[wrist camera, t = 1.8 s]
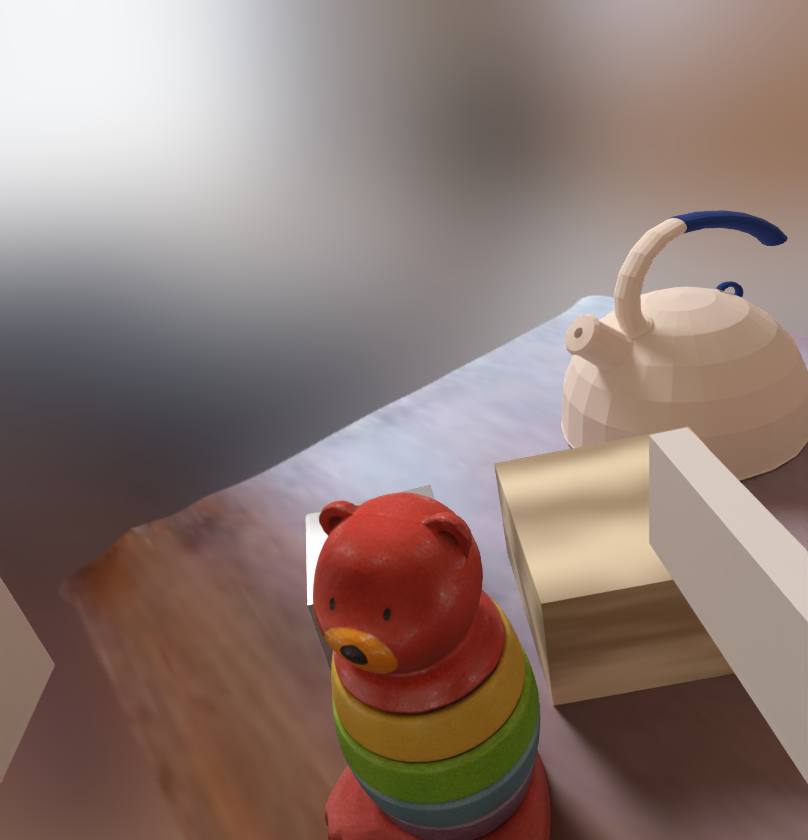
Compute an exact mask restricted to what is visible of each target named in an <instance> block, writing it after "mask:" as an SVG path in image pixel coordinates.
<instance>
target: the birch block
mask: <svg viewBox="0 0 808 840" xmlns="http://www.w3.org/2000/svg"><path fill="white" fill-rule="evenodd" d="M682 428H688V429H689V430H690V431H691V432H692V433H693V434H694V435H695V436H696V437H697V435H696V434H695V433H694V432H693V431H692V430H691V429H690V427H689V426H688V427H682ZM682 428H677V429H682ZM677 429H672V430H677ZM672 430H667V431H672ZM667 431H662V432H667ZM662 432H656V433H651V434H646V435H641V436H636V437H630V438H625V439H620V440H615V441H609V442H604V443H599V444H594V445H589V446H583V447H578V448H573V449H568V450H562V451H557V452H552V453H547V454H542V455H536V456H531V457H526V458H521V459H515V460H510V461H505V462H500V463H495V471H496V478H497V485H498V492H499V499H500V505H501V512H502V519H503V526H504V533H505V540H506V547H507V553H508V556H509V560H510V563H511V566H512V570H513V573H514V576H515V580H516V583H517V586H518V590H519V593H520V596H521V600H522V603H523V606H524V610H525V613H526V616H527V620H528V623H529V626H530V630H531V633H532V636H533V640H534V643H535V646H536V650H537V653H538V656H539V660H540V663H541V666H542V670H543V673H544V676H545V680H546V683H547V686H548V690H549V693H550V696H551V700H552V703H553V706H554V705H560V704H566V703H571V702H577V701H583V700H588V699H594V698H599V697H605V696H611V695H616V694H622V693H628V692H633V691H639V690H644V689H650V688H656V687H661V686H667V685H673V684H678V683H684V682H689V681H695V680H701V679H706V678H712V677H718V676H723V675H729V674H735V673H734V671H733V670H732V668H731V667H730V665H729V664H728V662H727V661H726V659H725V658H724V656H723V655H722V653H721V652H720V650H719V648H718V647H717V645H716V644H715V642H714V641H713V639H712V638H711V636H710V635H709V633H708V632H707V630H706V629H705V627H704V626H703V624H702V623H701V621H700V620H699V618H698V617H697V615H696V614H695V612H694V611H693V609H692V607H691V606H690V604H689V603H688V601H687V600H686V598H685V597H684V595H683V594H682V592H681V591H680V589H679V588H678V586H677V585H676V583H675V582H674V580H673V579H672V577H671V576H670V574H669V573H668V571H667V570H666V568H665V567H664V565H663V563H662V562H661V560H660V559H659V557H658V556H657V554H656V553H655V551H654V550H653V548H652V547H651V545H650V544H649V435H652V434H657V433H662ZM697 438H698V437H697ZM698 439H699V438H698ZM699 440H700V439H699ZM700 441H701V440H700ZM701 442H702V441H701ZM702 443H703V442H702ZM703 444H704V443H703ZM704 445H705V444H704Z"/></svg>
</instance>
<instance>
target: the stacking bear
mask: <svg viewBox="0 0 808 840" xmlns="http://www.w3.org/2000/svg"><path fill="white" fill-rule="evenodd" d="M319 523H320V525H321V527H322V529H323V530H324V532H325V533H326V534H327V535H328V537H327V539H326V541H325V543H324V544H323V546H322V549H321V551H320V554H319V556H318V560H317V564H316V568H315V573H314V580H313V596H312V597H313V608H314V614H315V618H316V622H317V625H318V627H319V629H320V631H321V633H322V635H323V636H324V638H325V640H326V641H327V642H328V644H329V645H330V646H331V648H332V649H333V655H332V663H331V682H332V695H333V698H332V704H333V715H334V721H335V727H336V732H337V736H338V740H339V744H340V747H341V750H342V752H343V755H344V756H345V758H346V761H347V764H348V766H347V767H346V769H345V770H344V771H343V773H342V774H341V776H340V778H339V779H338V781H337V783H336V785H335V787H334V788H333V790H332V792H331V794H330V796H329V798H328V801H327V804H326V807H325V821H326V824H327V826H328V839H329V840H549V839H550V828H551V807H550V796H549V789H548V783H547V779H546V775H545V771H544V768H543V764H542V761H541V758H540V755H539V753H538V750H537V748H538V742H539V732H540V704H539V694H538V689H537V685H536V681H535V677H534V674H533V671H532V668H531V665H530V663H529V660H528V657H527V655H526V653H525V651H524V649H523V647H522V645H521V643H520V642H519V640H518V637H517V635H516V633H515V631H514V629H513V627H512V625H511V623H510V622H509V620H508V618H507V617H506V615H505V614H504V612H503V611H502V610H501V608H500V607H499V606H498V605H497V604H496V603H495V601H494V600H493V599H491V598H490V597H489V596H488V595H487V594H486V593H485V592H484V591H482V580H483V572H482V563H481V557H480V552H479V549H478V547H477V544H476V542H475V540H474V538H473V535H472V534H471V530H470V529H469V527H468V525H467V524H466V522H465V521H464V520H463V519H461V518H460V517H459V516H457V515H456V514H455V513H454V512H453V511H452V510H450V509H449V508H448V507H446V506H445V505H443V504H442V503H440V502H438V501H436V500H434V499H432V498H430V497H427V496H423V495H420V494H415V493H406V492H402V493H393V494H387V495H383V496H380V497H376V498H373V499H371V500H369V501H366V502H364V503H363V504H361V505H358V506H356V505H354V504H352V503H350V502H347V501H335V502H332V503H330V504H328V505H326V506H325V507H324V508H323V509H322V511H321V513H320V515H319Z"/></svg>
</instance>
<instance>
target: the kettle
mask: <svg viewBox="0 0 808 840" xmlns="http://www.w3.org/2000/svg"><path fill="white" fill-rule="evenodd" d="M704 228H728V229H735V230H739V231H742V232H746V233H749V234H750V235H752V236H754V237H756V238H757V239H758V240H759V241H760V242H761V243H762V244H764V245H767V246H776V245H780V244H783V243H784V242H786V241H787V236H786V235H785V234H784V233H783V232H782V231H781V230H780V229H779V228H778V227H776V226H775V225H773V224H771V223H769V222H768V221H766V220H764V219H761V218H758V217H755V216H752V215H749V214H746V213H740V212H732V211H703V212H693V213H688V214H684V215H679V216H674V217H671V218H669V219H668V220H666V221H665V222H663V223H661V224H659V225H658V226H656V227H654V228H653V229H651V230H649V231H647V232H646V233H645V234H644V236H643V237H642V238H641V239H640V240H639V241H638V242H637V243H636V245H635V246H634V247H633V248H632V249H631V250H630V252H629V254H628V256H627V258H626V260H625V262H624V264H623V266H622V267H621V270H620V271H619V275H618V279H617V283H616V287H615V291H614V307H615V310H613V311H612V312H611V313H609V314H608V315H606V316H605V317H603V318H602V319H601V320H598V318H597V317H595V316H594V315H593V314H586V315H583V316H580V317H578V318H577V319H576V320H574V321H573V322H572V324H571V325H570V326H569V328H568V330H567V333H566V337H565V343H566V347H567V350H568V351H569V352H570V353H571V354H572V355H573V356H572V359H571V361H570V364H569V366H568V369H567V371H566V374H565V379H564V386H563V413H562V423H561V428H562V431H563V433H564V436H565V439H566V441H567V443H568V444H569V445H570V446H571V447H572V448H578V447H583V446H589V445H594V444H599V443H604V442H609V441H615V440H620V439H625V438H630V437H636V436H641V435H646V434H651V433H656V432H662V431H667V430H672V429H677V428H682V427H688V426H689V427H690V429H691V430H692V431H693V432H694V433H695V434H696V435H697V437H698V438H699V439H700V440H701V441H702V442H703V443H704V444H705V446H706V447H707V448H708V449H709V450H710V451H711V452H712V453H713V454H714V455H715V456H716V457H717V458H718V459H719V460H720V461H721V463H722V464H723V465H724V466H725V467H726V468H727V469H728V470H729V471H730V472H731V473H732V474H733V475H734V476H735V477H736V478H737V479H738V480H739V481H742V480H745V479H748V478H751V477H754V476H757V475H760V474H763V473H766V472H769V471H772V470H774V469H776V468H777V467H779V466H780V465H782V464H784V463H785V462H787V461H789V460H790V459H792V458H794V457H795V456H797V455H798V454H799V452H800V451H801V450H802V448H803V447H804V446H805V445H806V443H807V442H808V371H807V368H806V366H805V363H804V361H803V359H802V356H801V354H800V351H799V349H798V347H797V345H796V343H795V341H794V339H793V338H792V337H791V336H790V335H789V334H788V333H787V332H786V331H785V330H784V329H783V328H782V327H781V326H780V324H779V323H778V322H776V320H775V319H774V318H773V317H771V316H770V315H769V314H767V313H766V312H765V311H764V310H762V309H761V308H758V307H757V306H755V305H753V304H752V303H750V302H748V301H746V300H744V299H743V298H741V297H742V296H743V289H742V287H741V286H740V285H739V284H737V283H736V282H724V283H722V284H720V285H719V286H718V287H717V288H716V289H717V290H716V289H707V288H697V287H674V288H668V289H663V290H658V291H653V292H650V293H647V294H643V295H641V290H642V286H643V281H644V277H645V275H646V273H647V271H648V269H649V267H650V265H651V263H652V261H653V259H654V258H655V257H656V255H657V254H658V253H659V252H660V251H661V250H662V249H663V248H664V247H665V245H666V244H667V243H668V242H669V241H671V240H673V239H674V238H676V237H678V236H679V235H681V234H682V233H687V232H691V231H695V230H700V229H704ZM730 286H731V287H734V289H735V294H732V293H729V292H725V291H724V290H725V289H726V288H728V287H730Z"/></svg>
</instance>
